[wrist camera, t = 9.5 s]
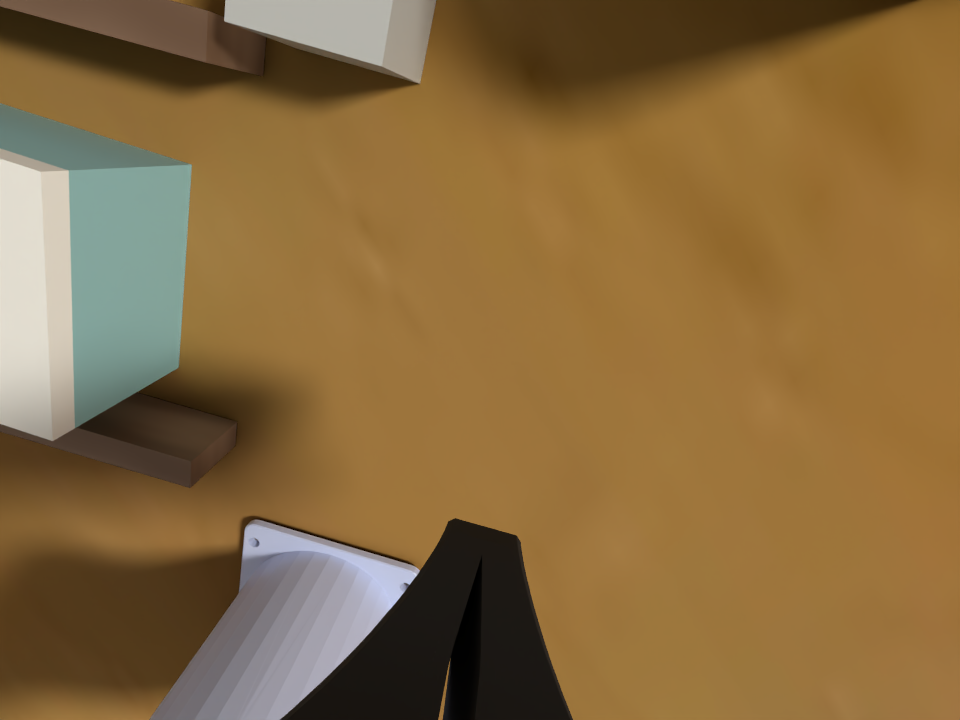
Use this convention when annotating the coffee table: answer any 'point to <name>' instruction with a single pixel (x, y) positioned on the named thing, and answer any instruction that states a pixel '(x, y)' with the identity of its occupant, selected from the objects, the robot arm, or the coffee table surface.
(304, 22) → the stone block
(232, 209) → the coffee table surface
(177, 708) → the robot arm
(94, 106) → the coffee table surface
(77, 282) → the carton
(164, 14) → the display bay
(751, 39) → the coffee table surface
